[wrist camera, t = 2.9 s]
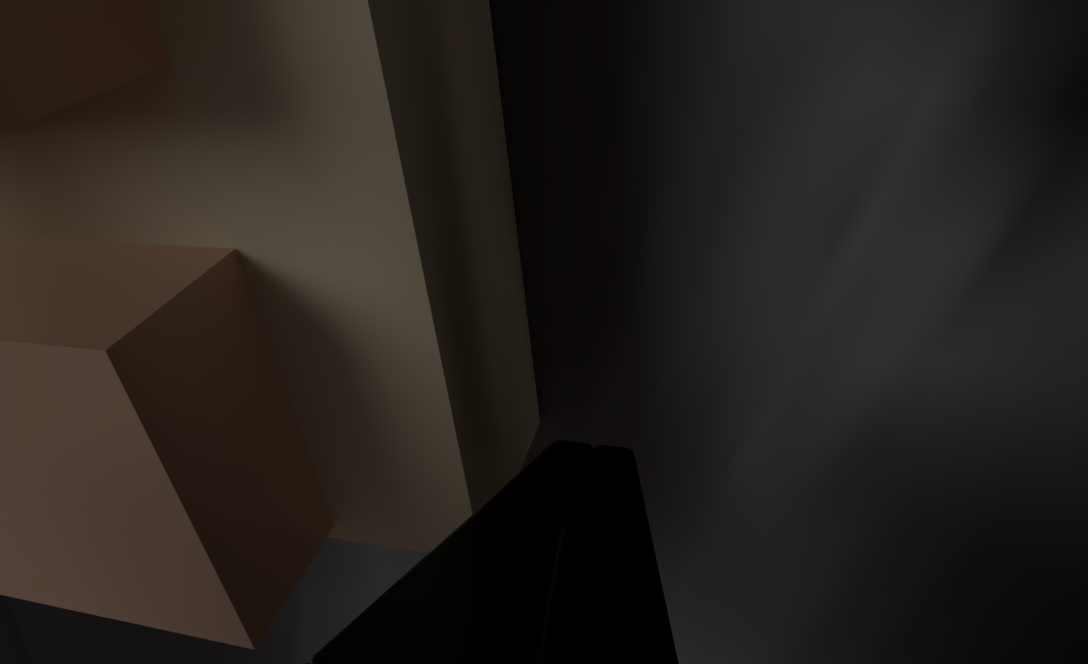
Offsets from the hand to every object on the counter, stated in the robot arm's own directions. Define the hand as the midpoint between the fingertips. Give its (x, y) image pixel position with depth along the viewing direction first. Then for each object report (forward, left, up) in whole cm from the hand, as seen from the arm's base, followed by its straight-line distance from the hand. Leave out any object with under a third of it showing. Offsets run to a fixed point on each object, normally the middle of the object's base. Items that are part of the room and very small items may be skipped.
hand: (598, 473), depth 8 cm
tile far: (+6, 0, 0) cm, 6 cm away
